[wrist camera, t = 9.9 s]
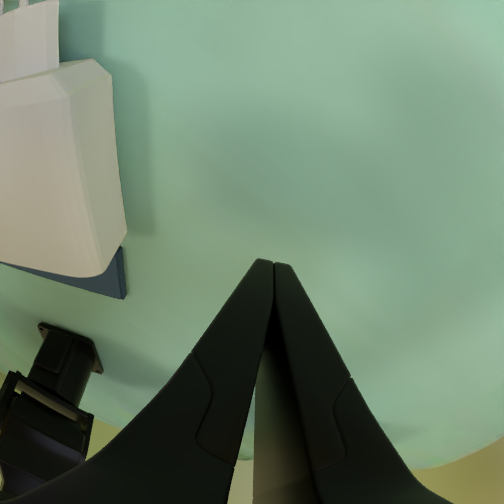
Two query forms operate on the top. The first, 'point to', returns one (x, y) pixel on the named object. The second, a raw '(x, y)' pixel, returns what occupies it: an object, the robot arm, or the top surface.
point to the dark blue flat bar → (92, 278)
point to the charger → (55, 151)
